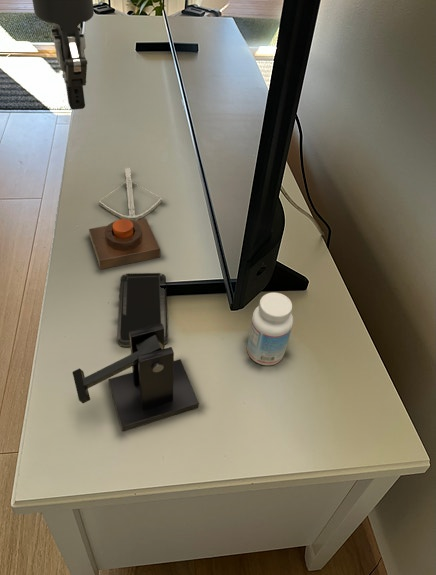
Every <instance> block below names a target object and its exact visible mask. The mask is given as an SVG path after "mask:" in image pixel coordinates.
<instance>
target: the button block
mask: <svg viewBox="0 0 436 575" xmlns="http://www.w3.org/2000/svg"><path fill="white" fill-rule="evenodd" d="M115 221H116V220H114V221H112V222H111V223H109V224H107V225H103V226H97V227H93V228H88V233H89V239H90V242H91V244H92V248H93V250H94V254H95V257H96V259H97V263H98V266H99V269H100V270H105V269H110V268H113V267H114V268H115V267H120V266H125V265H129V264H135V263H138V262H139V263H140V262H144V261H149V260H153V259H158V258H161V248H160V245H159V244H158V241H157V239H156V237H155V235H154V233H153V230H152V228H151V226H150V224H149V222H148V219H147V218H140V219H138V220H136V221H135V220H130V221H131V222H132V223H133V232H134V233H133V235H132V236H131V237H130V238H126V239H120V238H117V237H115V236H114V234H113V223H114V222H115Z"/></svg>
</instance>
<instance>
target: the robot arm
mask: <svg viewBox="0 0 436 575" xmlns="http://www.w3.org/2000/svg"><path fill="white" fill-rule="evenodd" d="M32 6H33V11H34V15H35V16H36V18H37V19H39V20H41V21H42V22H45V23H48V24H54V26H52V28H49V30H50V35H51V40H52V42H53V44H54V49H55V55H56V60H57V63H58V65H59V69H60V71H62V74H61V76H62V79H63V81H64V84H65V89H66V95H67V102H68V105H69V108H70V109H71V110H83V109H84V108H85V107H86V102H85V94H84V92H85V91H84V86H86V85H87V72H88V71H87V70H88V60H87V59H86V55H85V49H86V37H85V34H84V33H82V28H81V27H80V26H79V25H81V24H82V23H86V22H88V21H90V20H91V19H92V18H93V16H94V14H95V10H94V0H32Z"/></svg>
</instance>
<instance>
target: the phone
mask: <svg viewBox="0 0 436 575" xmlns="http://www.w3.org/2000/svg"><path fill="white" fill-rule="evenodd" d="M160 284H166V285H167V276H166V275H165V274H164V273H161V272H143V273H142V272H141V273H140V272H137V273H136V272H135V273H134V272H133V273H124V274H122V275H121V276H120V281H119V295H118V298H119V302H118V316H117V318H118V319H117V333H116V334H117V335H116V338H117V344H118V345H119V346H120V347H123V348H130V336H129V331H133V330H137V329H141V328H145V327H149V326H153V325H157V324H161V323H162V324H163V327H164V346H165V345H166V344H167V343H168V341H169V340H168V339H169V333H168V303H167V299H168V298H167V297H168V296H167V287H166V288H165V289H164V288H161V287H160Z"/></svg>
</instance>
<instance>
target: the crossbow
mask: <svg viewBox="0 0 436 575" xmlns="http://www.w3.org/2000/svg"><path fill="white" fill-rule="evenodd" d="M124 169H125V170H124V172H125V182H123V183H122V184H121V185H118V186H117V187H116V188H115V189H113V190H112V191H110V192H109V193H108V194H107V195H105V196H104V197H102V198H101V199H99V200H98V205H99V206H101V207H102V208H104V209H105V210H106V211H107V212H108V213H110V214H112V215H114V216H116V217H118V218H119V219H127V220H131V221H136V220H141V219H144V218H145V216H147V215H149V214H150V213H151V212H153V211H154V210H155V209H156V208H157V207H158V206H159V205H160V204H161V203H162V202H163V197H161V196H159V195H157V194H156V193H154V192H152V191H150V190H148V189H147V188H144V187H143V186H142V185H139V184H138V183H136V182H134V181H132V171H131V167H125V168H124ZM124 184H126V194H127V195H126V196H127V205H128V206H127V207H128V215H125V214H122V213H120V212H118V211H115V210H114V209H112V207H109V206H108V205H106V203H104V202H103V201H102V200H103V199H105V198H106V197H107V196H109V195H110V194H111V193H113V192H114V191H117V189H119V188H120V187H121V186H123V185H124ZM133 184H135V185H137V186H138V187H140V188H142V189H144V190H146V191H148V192H149V193H151V194H153V195H155V196H156V197H158V198H159V199H158V200H157V201H156V202H155V203H154V204H152V206H150V207H149V208H148V209H146V210H145V211H143V212H142V213H139V214H136V211H135V201H134V190H133Z"/></svg>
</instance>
